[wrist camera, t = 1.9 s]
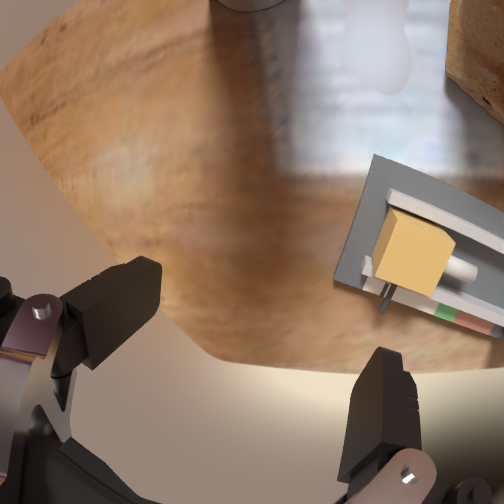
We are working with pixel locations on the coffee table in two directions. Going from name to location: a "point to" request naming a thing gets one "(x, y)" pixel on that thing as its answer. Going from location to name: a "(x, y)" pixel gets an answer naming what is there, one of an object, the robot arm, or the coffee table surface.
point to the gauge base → (453, 223)
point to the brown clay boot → (478, 52)
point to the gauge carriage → (415, 255)
